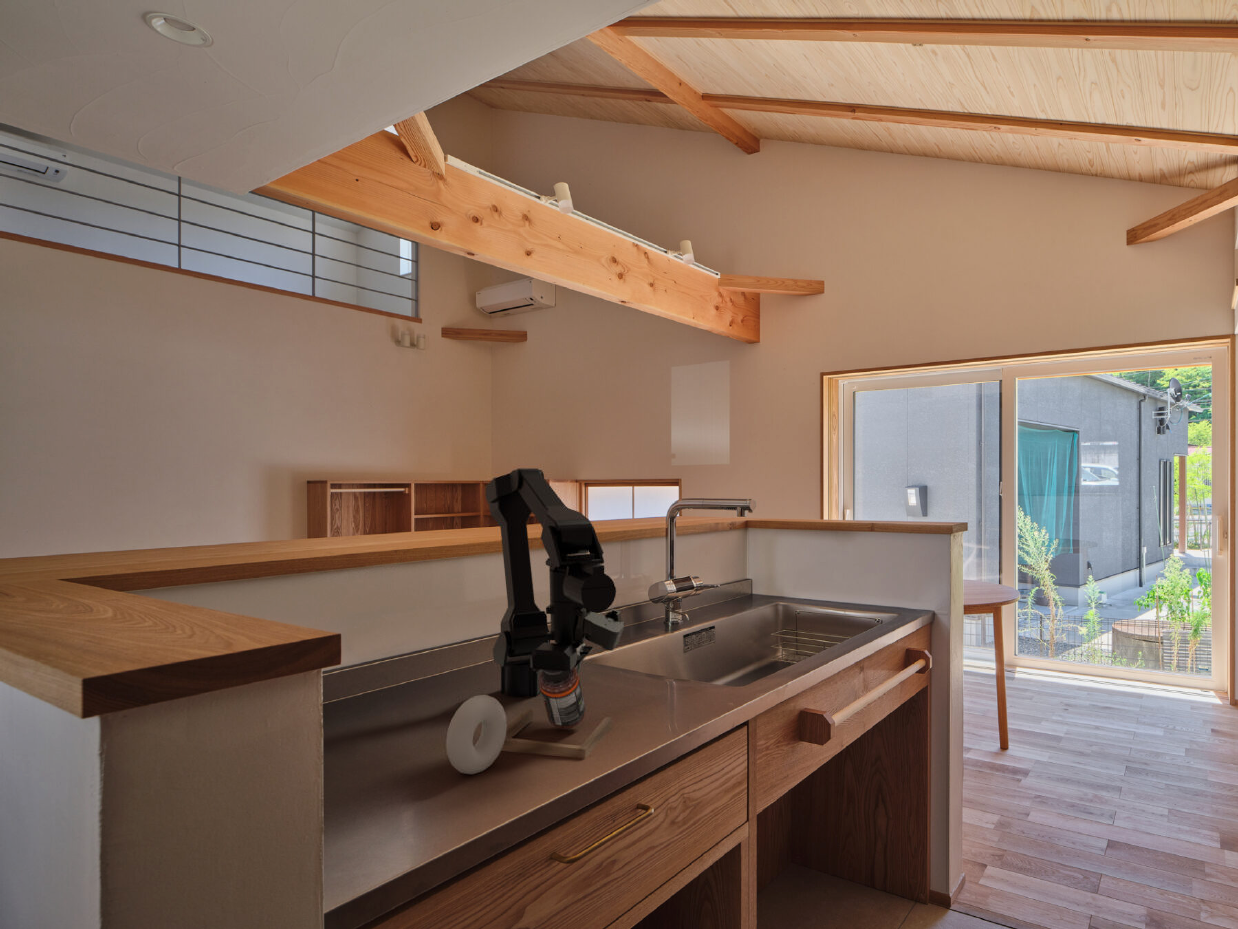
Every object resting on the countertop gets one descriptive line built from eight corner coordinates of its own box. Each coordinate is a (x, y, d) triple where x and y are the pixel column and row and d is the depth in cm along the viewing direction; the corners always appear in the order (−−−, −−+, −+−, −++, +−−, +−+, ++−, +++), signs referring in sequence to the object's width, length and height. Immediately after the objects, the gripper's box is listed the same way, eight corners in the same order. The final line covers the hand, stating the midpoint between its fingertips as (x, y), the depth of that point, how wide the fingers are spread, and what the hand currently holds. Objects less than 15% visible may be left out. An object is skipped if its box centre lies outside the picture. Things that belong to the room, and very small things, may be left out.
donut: (459, 789, 92) (460, 709, 92) (440, 783, 94) (440, 704, 94) (512, 761, 101) (512, 688, 101) (493, 756, 102) (493, 684, 102)
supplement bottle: (547, 704, 117) (534, 652, 111) (584, 696, 117) (573, 644, 112) (549, 734, 112) (535, 682, 106) (588, 726, 112) (576, 674, 107)
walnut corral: (491, 749, 105) (491, 738, 105) (527, 718, 117) (527, 709, 117) (585, 760, 101) (585, 749, 101) (612, 727, 114) (612, 717, 114)
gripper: (601, 617, 105) (603, 724, 106) (632, 586, 123) (634, 678, 124) (527, 613, 107) (530, 717, 109) (568, 583, 125) (570, 673, 126)
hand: (570, 695), depth 117 cm, fingers closed, pressing on supplement bottle
